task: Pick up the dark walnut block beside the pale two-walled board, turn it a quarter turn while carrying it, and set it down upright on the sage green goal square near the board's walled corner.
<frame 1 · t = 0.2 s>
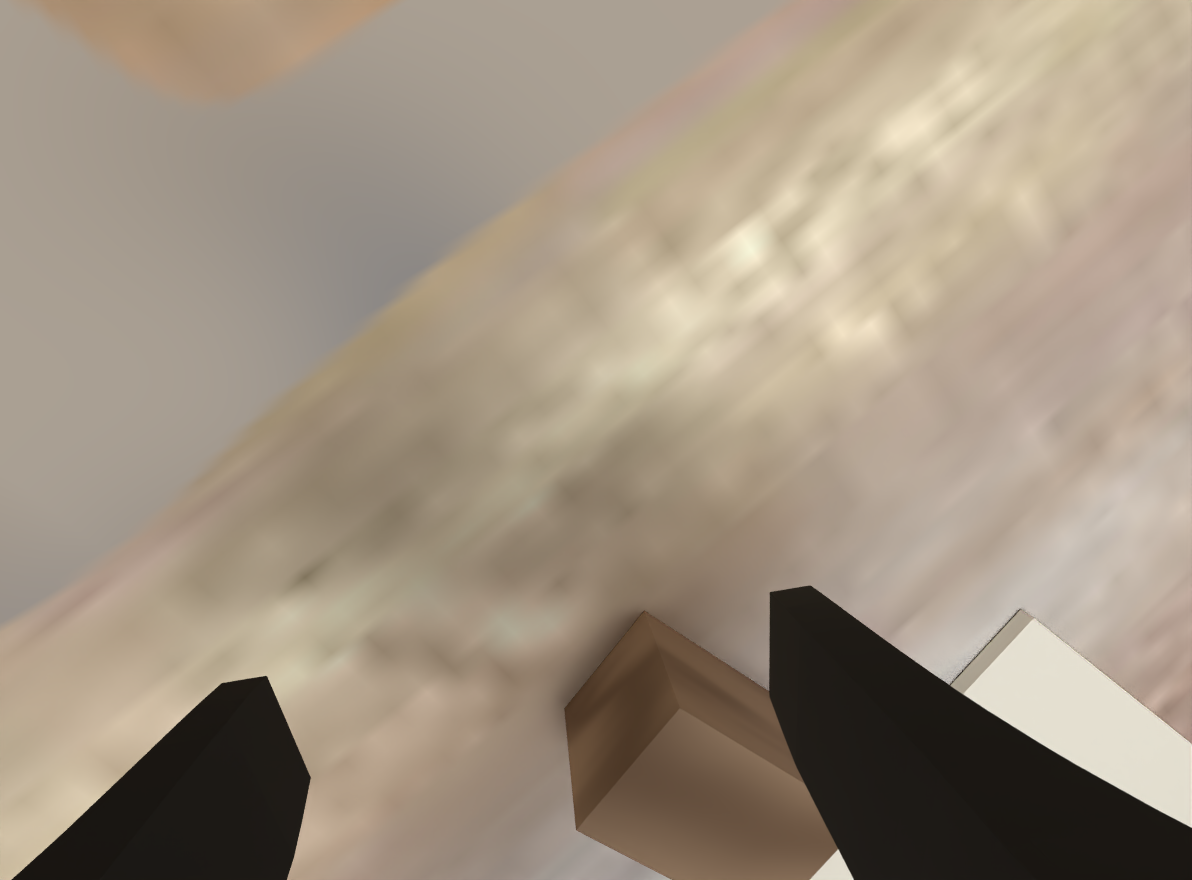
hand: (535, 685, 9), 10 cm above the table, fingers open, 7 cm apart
walnut block: (680, 705, 22), on the table
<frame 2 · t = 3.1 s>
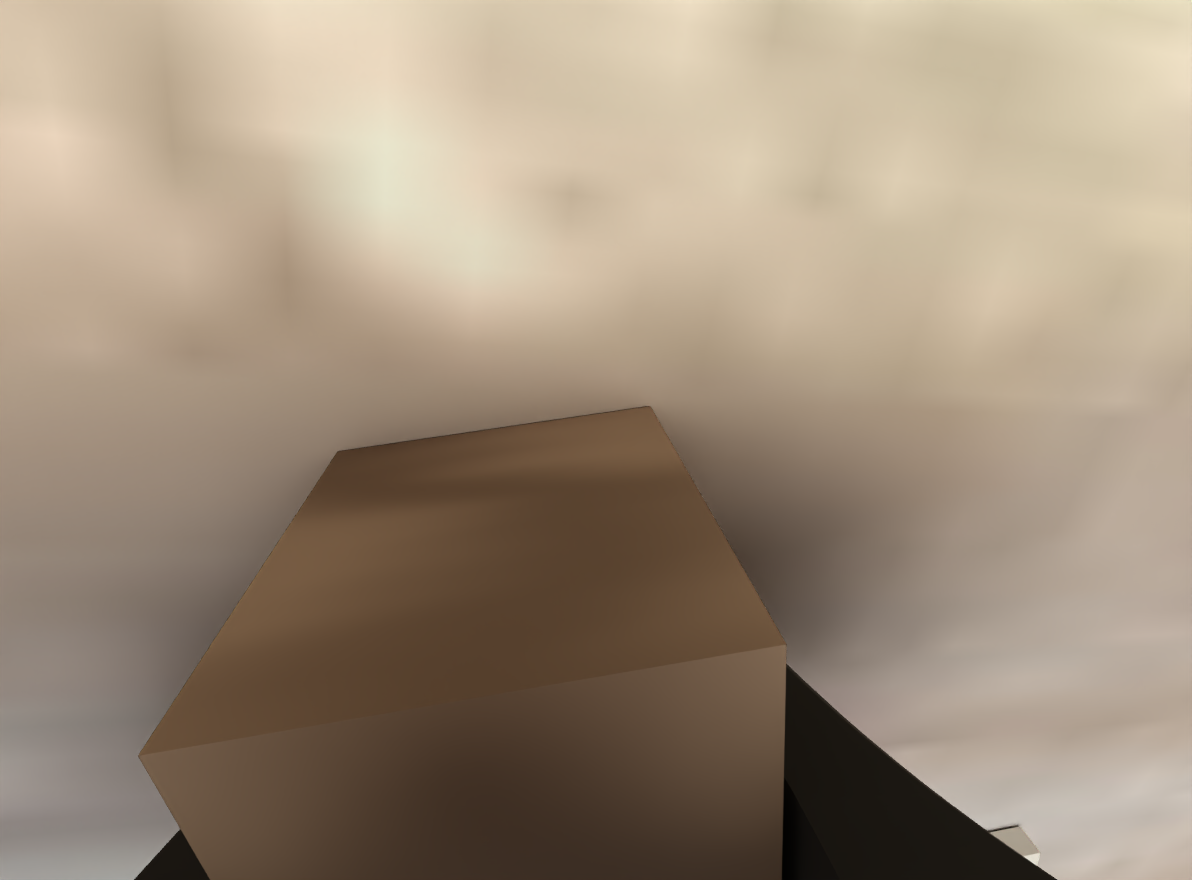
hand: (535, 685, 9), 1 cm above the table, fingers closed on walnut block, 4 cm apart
walnut block: (533, 621, 10), on the table, touching gripper
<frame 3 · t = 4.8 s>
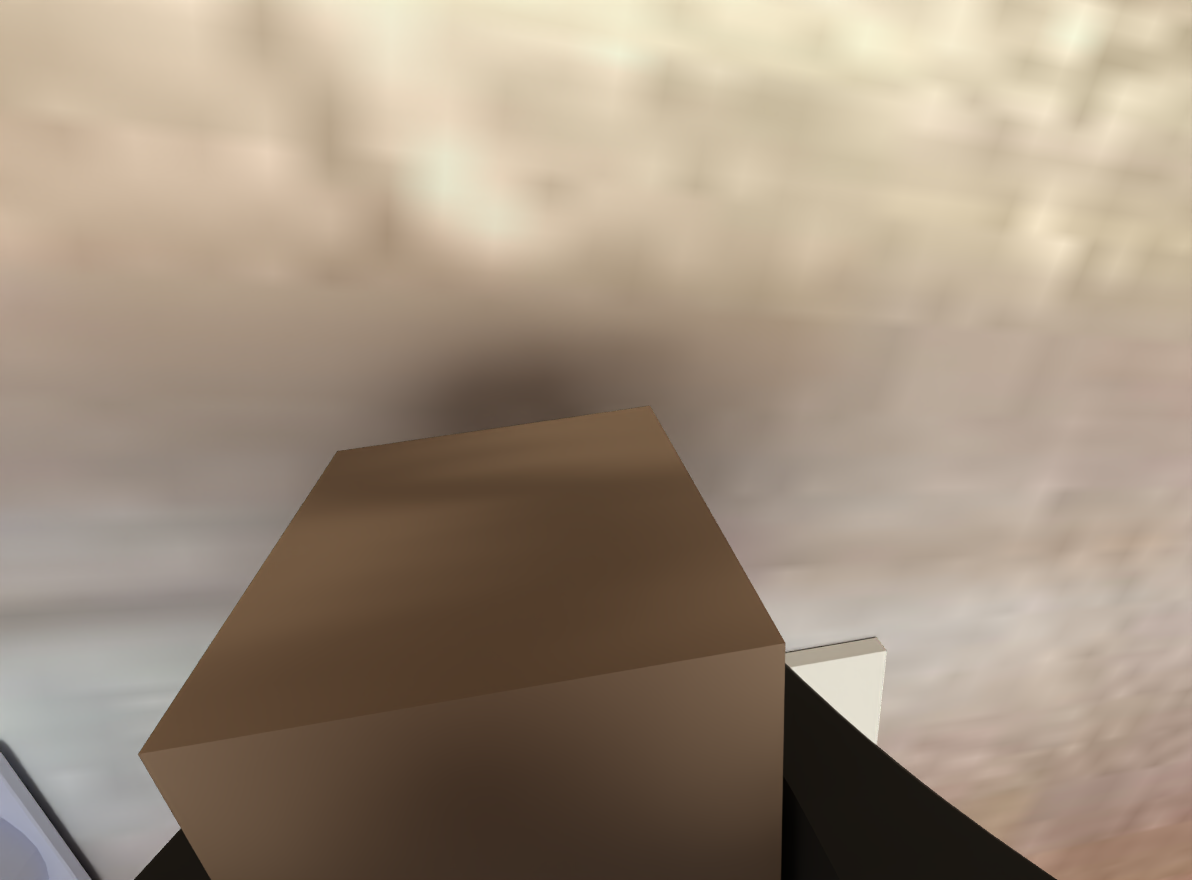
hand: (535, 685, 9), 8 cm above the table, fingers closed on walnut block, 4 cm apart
walnut block: (532, 620, 10), point 6 cm above the table, touching gripper
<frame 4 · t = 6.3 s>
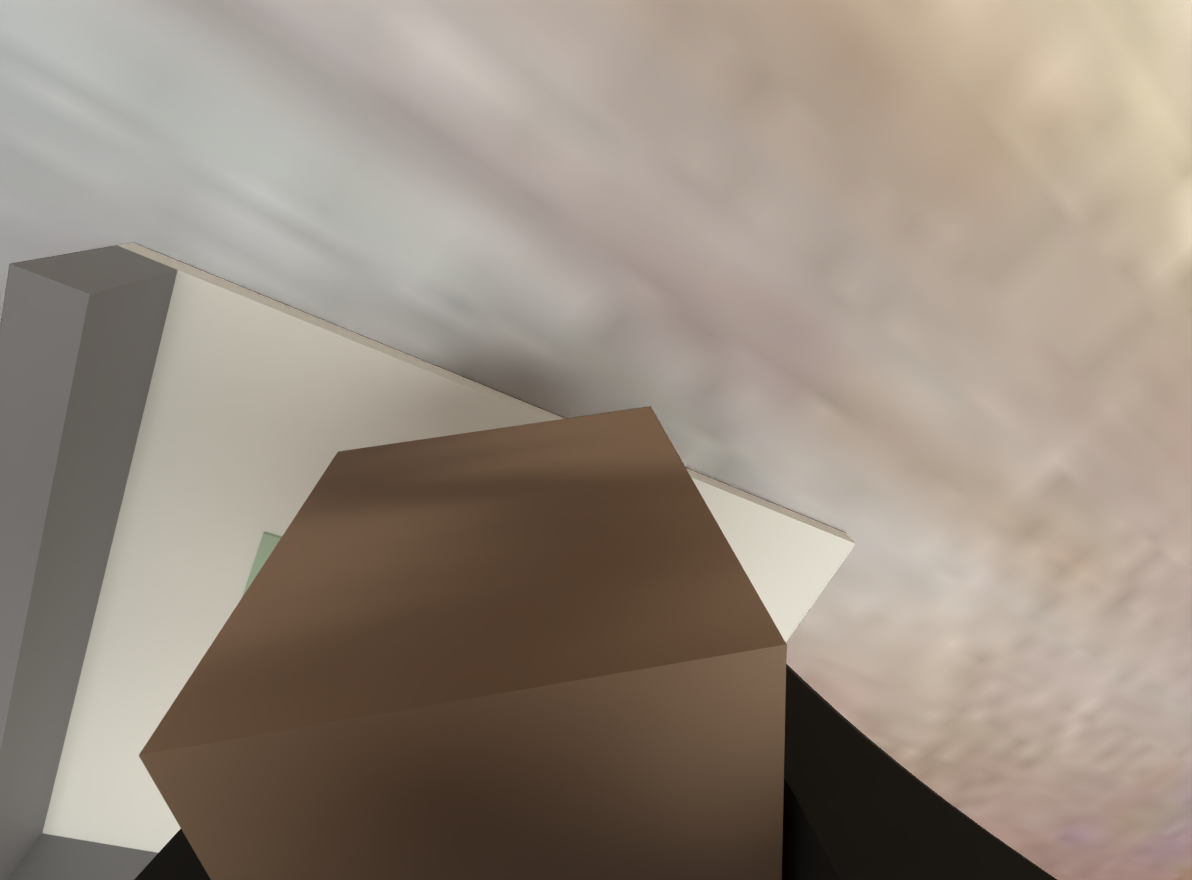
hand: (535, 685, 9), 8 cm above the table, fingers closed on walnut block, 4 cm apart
arena: (417, 685, 19), on the table
walnut block: (533, 621, 10), point 7 cm above the table, touching gripper
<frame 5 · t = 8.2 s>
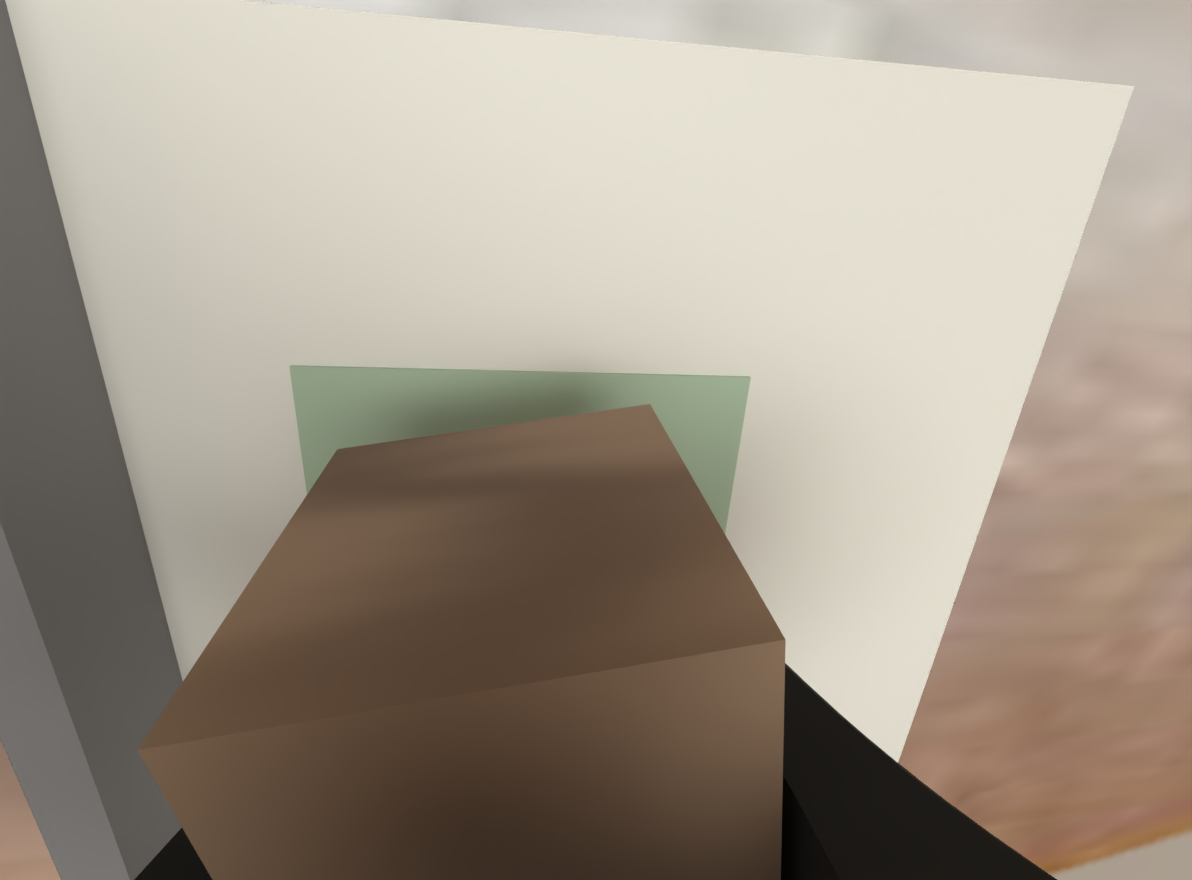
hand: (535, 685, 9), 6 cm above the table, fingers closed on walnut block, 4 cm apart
arena: (569, 538, 15), on the table
walnut block: (532, 619, 10), point 4 cm above the table, touching gripper
when the fingers open (3 cm above the table, at t = 9.6 s): walnut block stays where it is, resting on arena.
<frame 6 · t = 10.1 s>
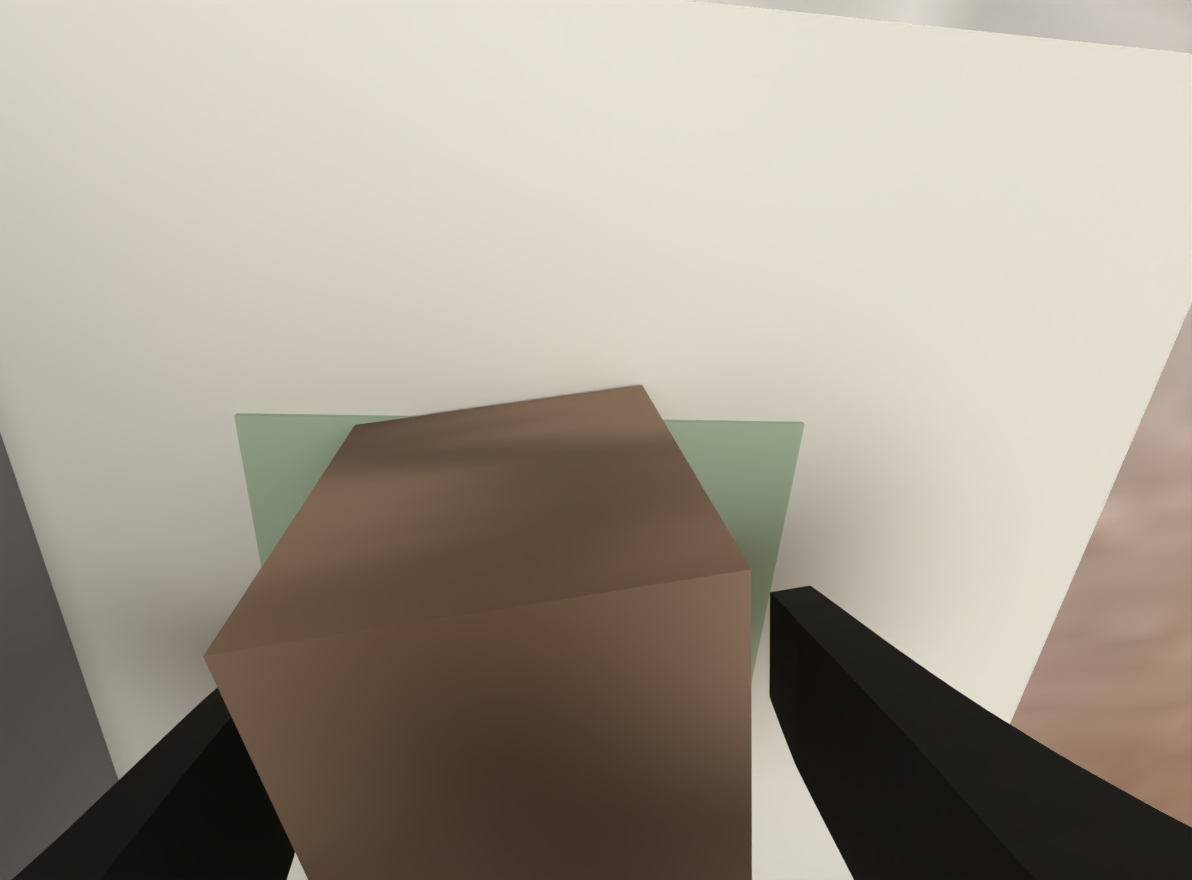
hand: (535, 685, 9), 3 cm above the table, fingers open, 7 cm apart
arena: (581, 607, 12), on the table
walnut block: (533, 586, 11), point 1 cm above the table, touching arena
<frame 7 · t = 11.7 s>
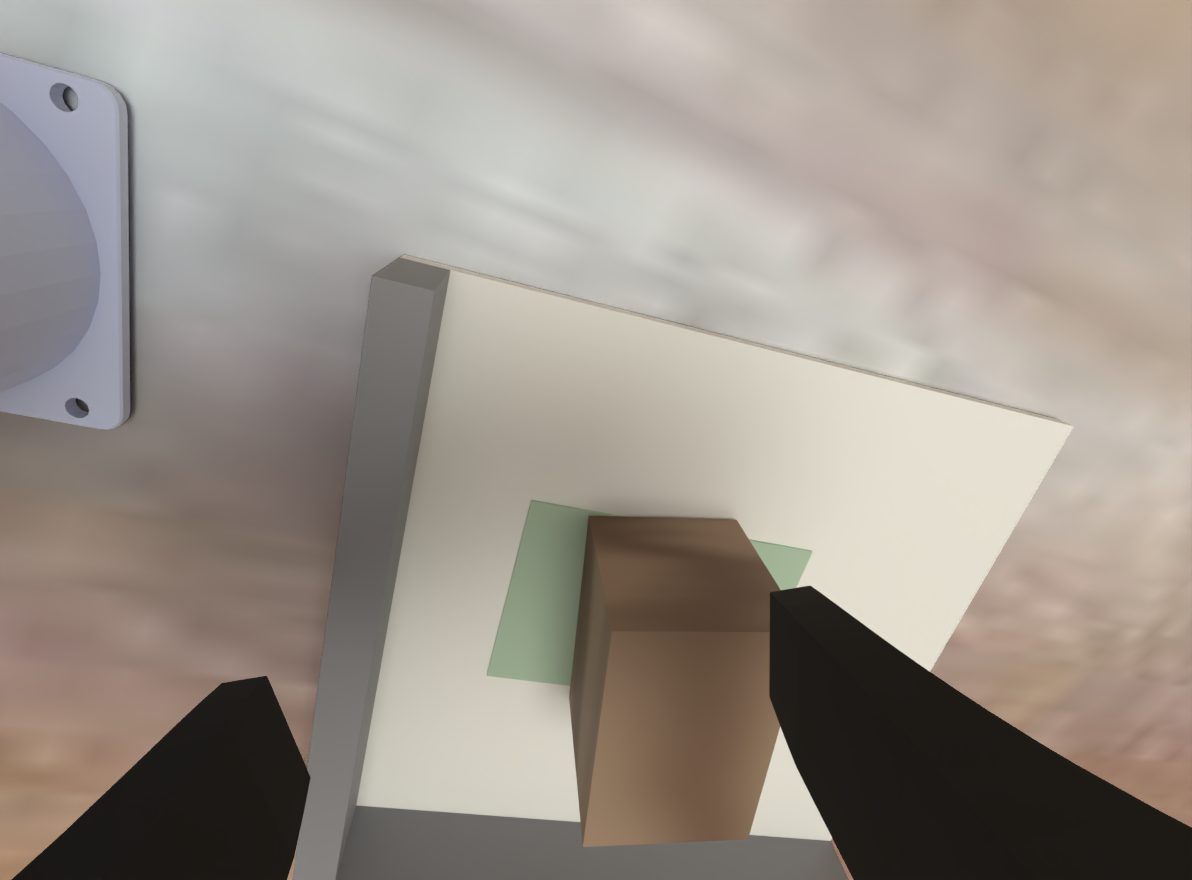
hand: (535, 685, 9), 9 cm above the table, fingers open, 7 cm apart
arena: (663, 629, 21), on the table
walnut block: (648, 613, 20), point 1 cm above the table, touching arena
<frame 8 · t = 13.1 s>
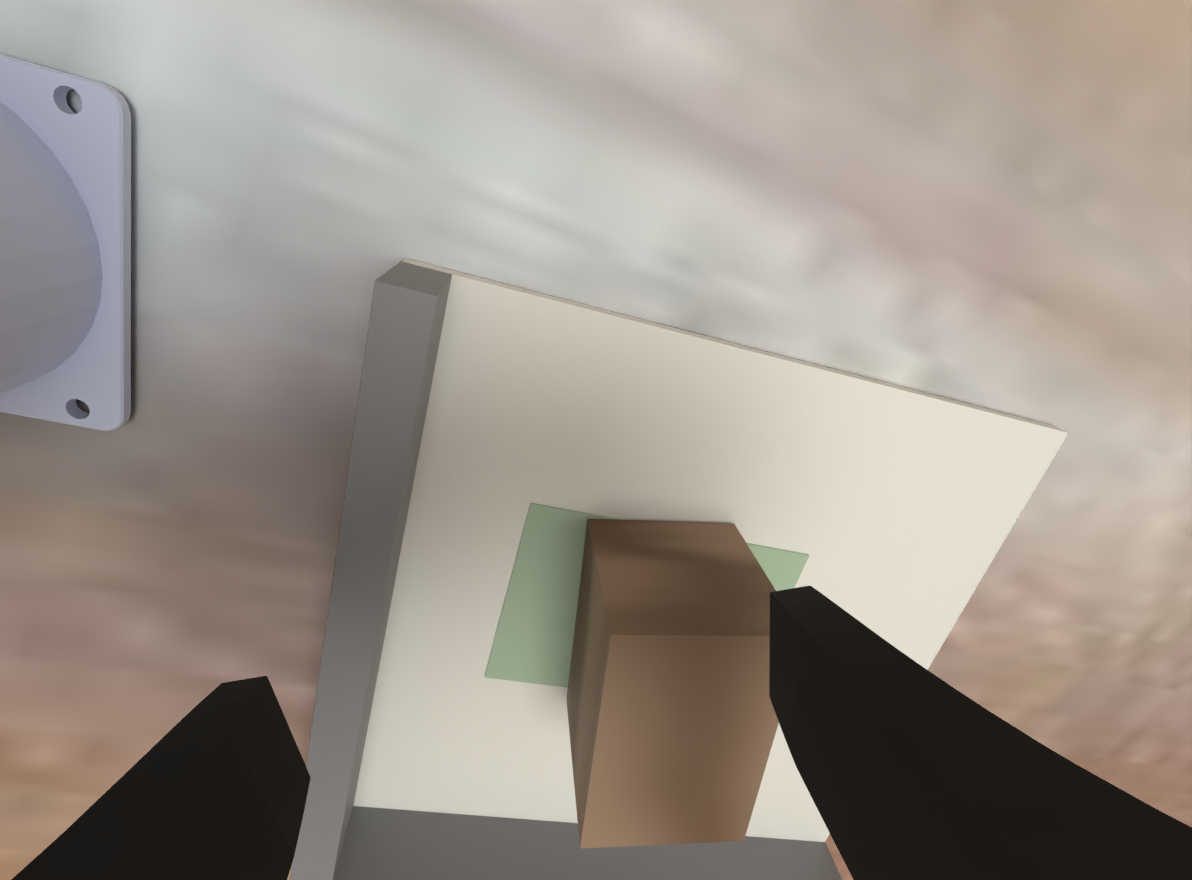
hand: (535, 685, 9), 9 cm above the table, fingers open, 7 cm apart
arena: (660, 631, 21), on the table
walnut block: (646, 616, 20), point 1 cm above the table, touching arena
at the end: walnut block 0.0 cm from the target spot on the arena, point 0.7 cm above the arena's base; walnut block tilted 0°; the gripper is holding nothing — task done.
